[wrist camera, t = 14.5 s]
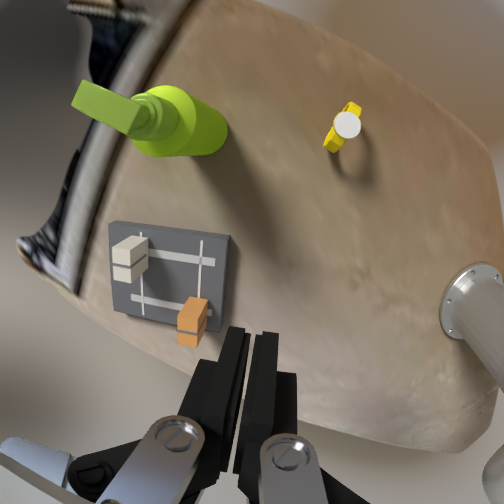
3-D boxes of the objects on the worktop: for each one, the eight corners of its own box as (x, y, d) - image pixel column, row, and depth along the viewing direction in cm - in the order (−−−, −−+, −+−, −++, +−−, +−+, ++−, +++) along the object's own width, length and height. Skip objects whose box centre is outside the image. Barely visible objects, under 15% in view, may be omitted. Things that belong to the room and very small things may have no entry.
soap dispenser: (187, 96, 32) (93, 49, 13) (237, 121, 33) (179, 83, 14) (164, 138, 34) (54, 133, 15) (212, 164, 34) (131, 178, 16)
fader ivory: (148, 237, 36) (129, 250, 31) (148, 267, 37) (131, 283, 32) (131, 235, 36) (111, 247, 31) (131, 264, 37) (112, 279, 32)
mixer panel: (230, 235, 37) (227, 240, 35) (222, 325, 41) (219, 333, 39) (115, 220, 38) (108, 224, 36) (120, 304, 42) (113, 310, 40)
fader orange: (208, 299, 37) (197, 320, 33) (206, 325, 39) (197, 348, 34) (189, 296, 38) (176, 316, 33) (188, 322, 39) (177, 344, 34)
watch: (335, 155, 33) (343, 159, 28) (315, 142, 33) (319, 144, 27) (360, 113, 31) (373, 110, 25) (340, 101, 30) (349, 94, 25)
